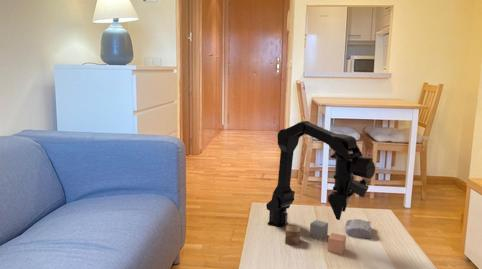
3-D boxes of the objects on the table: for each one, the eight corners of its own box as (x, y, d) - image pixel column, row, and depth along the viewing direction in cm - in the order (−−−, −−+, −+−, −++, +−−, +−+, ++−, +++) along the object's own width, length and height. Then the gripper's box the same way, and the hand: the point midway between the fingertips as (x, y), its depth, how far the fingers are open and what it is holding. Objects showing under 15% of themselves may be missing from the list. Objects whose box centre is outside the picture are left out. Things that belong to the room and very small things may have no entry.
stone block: (346, 241, 156) (373, 239, 154) (344, 229, 156) (372, 227, 154) (345, 230, 168) (370, 228, 166) (343, 219, 167) (369, 216, 165)
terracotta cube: (327, 251, 144) (328, 237, 143) (331, 245, 148) (332, 232, 147) (341, 254, 141) (342, 241, 140) (345, 248, 146) (346, 235, 145)
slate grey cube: (309, 235, 156) (310, 223, 155) (315, 231, 160) (316, 219, 159) (321, 239, 153) (322, 226, 152) (327, 235, 157) (328, 222, 156)
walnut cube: (285, 243, 149) (285, 230, 148) (286, 238, 154) (286, 225, 153) (298, 245, 148) (299, 232, 147) (299, 239, 153) (300, 226, 152)
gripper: (363, 182, 130) (360, 228, 132) (371, 169, 146) (368, 210, 149) (328, 177, 134) (325, 222, 137) (340, 165, 151) (337, 206, 154)
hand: (340, 215), depth 144 cm, fingers open, 9 cm apart
